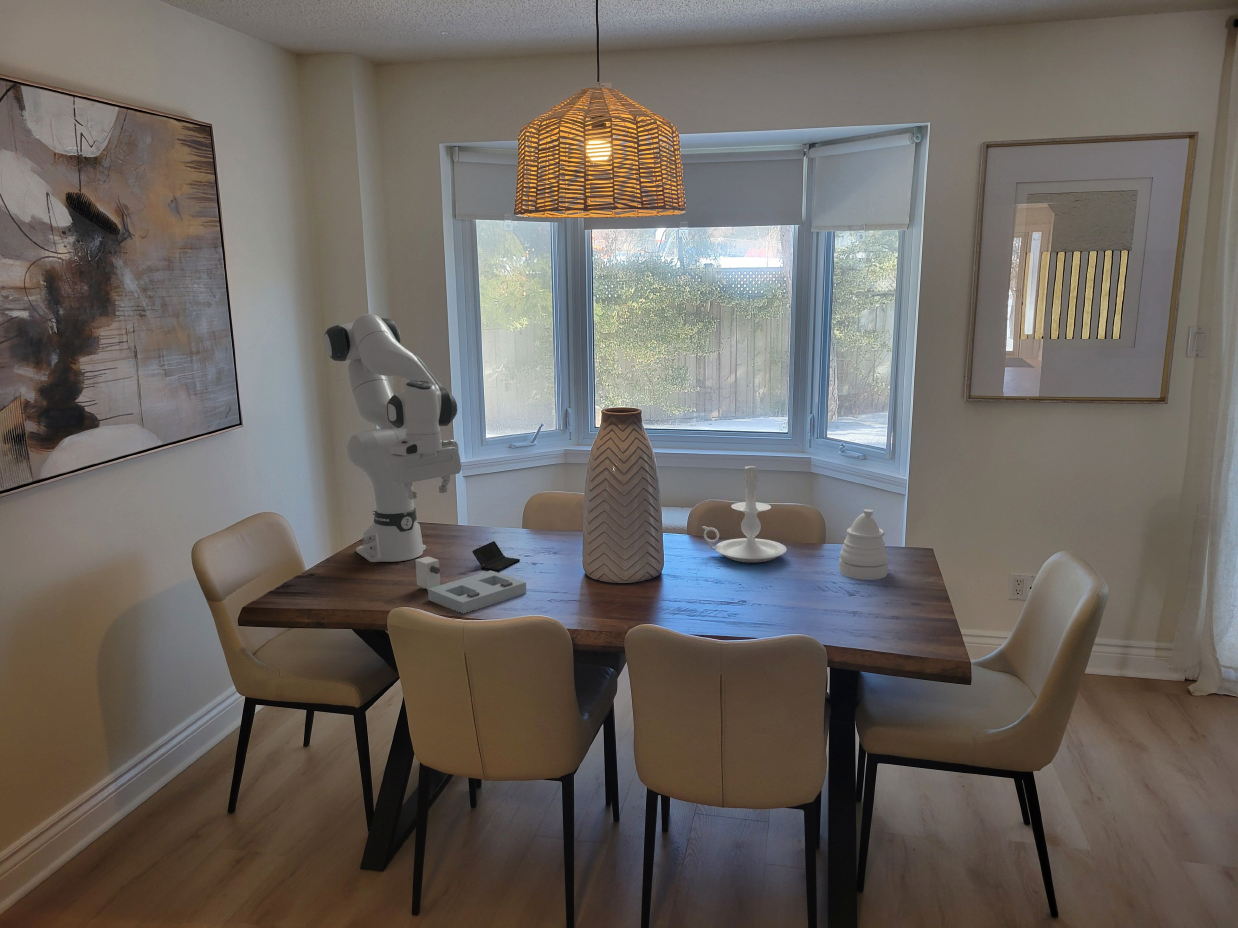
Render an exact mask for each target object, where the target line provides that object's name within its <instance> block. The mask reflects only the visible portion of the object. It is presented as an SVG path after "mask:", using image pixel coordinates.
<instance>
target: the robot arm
mask: <svg viewBox="0 0 1238 928" xmlns="http://www.w3.org/2000/svg"><path fill="white" fill-rule="evenodd" d="M323 344H324V349H325V351H326V353H327V355H328V357H329V358H330V359H331V360H333V361H335V362H345V361H349V362H348V366H347V367H348V368H347V369H348V378H349V383H350V387H351V390H352V393H353V394H352V395H353V397H354V401H355V403H356V406H357V409H358V412H359V414H360V417H361V418H362V419H364V420H365V421H366V422H368V423H370V424H374V425H376V426H377V427H379V428H376V429H375V428H374V429H367V430H363V431H361V432H358V433H355V434H352V436H351V437H350V438H349V440H348V442H347V446H346V451H347V453H346V454H347V456H348V458H349V460H350V462H351V463H352V464H353V465H354V466H355V467H357V468H359V469H360V470H362V471H363V472H364V473H365V475H367V476H368V478H369V480H370V482H371V484H372V487H373V491H374V493H373V494H374V499H375V508H376V510H373V511H372V513H373V514H372V515H373V523H371V525H370V526H369V527H368V528H367V529H366V530H365V531H364V533H363V536H362V539H361V540H362V543H363V545H359V546H357V547H356V549H355V552H356V553H357V554H359V555H361V557H363V558H365V560H367V561H368V562H370V563H378V562H379V563H380V562H390V563H391V562H392V563H393V562H394V563H395V562H402V561H408V560H413V559H416V558H418V557H421V556H422V555H423V553H424V551H425V550H426V549H427V546H426V544H423V538H422V537H423V536H422V532H421V531H422V529H421V526H420V523H418V522H417V519H418V518H417V514H418V513H417V508H416V507H415V501H414V500H415V499H417V497H418V496H417V495H418V494H417V491H414V485H413V483H415V482H421V481H426V480H430V479H431V480H432V479H436V478H441V479H442V481H441V484H440V485H439V486H438V492H439V493H440V494H446V493H448V485H449V483H450V481H451V476H453V475H459V474H460V473H461V471H462V463H461V458H460V453H459V452H460V451H459V444H458V442H457V441H456V440H453V439H448V440H442V432H441V431H442V430H441V428H440V427H447V426H449V425H450V424H451V422H453V420H455V418H456V416H457V414H458V405H457V401H456V399H455V397H454V395H453V394H452V393H451V392H450V391H449V390H448V389H446V387H444V386H443V385H442V383H440V381H439V380H438V379H437V377H436V376H435V375H434V374H433V372H432V370H430V368H429V367H428V366H427V365H426V364H425V362H424V361H423V359H421V357H419V356H418V355H417V354H415V353H414V352H411V351H410V350H409V349H407V348H406V347H405V346H403V345H402V344H401V332H400V329H399V327H398V325H397V322H395V320H393V319H391V318H381V317H380V316H378V315H376V314H375V313H365V314H362V315H360V316H358V317H357V318H356V319H355V320H354V321H351V322H348V323H344V324H341V325H340V324H336V325H332V326H330V327H329V328H327V329H326V330H325V332H324V338H323ZM388 377H393V378H400V379H405V380H408V382H406V383H405V384H404V386H403V390H402V391H400V392H398V393H395V394H394V392H393V388H392V387H391V384H390V383H391V382H390V380H389V379H388Z"/></svg>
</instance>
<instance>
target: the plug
mask: <svg viewBox="0 0 1238 928" xmlns="http://www.w3.org/2000/svg"><path fill="white" fill-rule="evenodd" d="M415 571H416V574H415V575H416V585H417V586H418V587H421V588H422V589H423V590H424V589H426V591H427V592H428V589H429V588H433V587H436V586H439V585H441V574H440V572H441V567H440V560H439V559H437V558H434V557H431V556H424V557H421V558H417V559H416V558H415Z"/></svg>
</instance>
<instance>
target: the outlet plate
mask: <svg viewBox="0 0 1238 928" xmlns="http://www.w3.org/2000/svg"><path fill="white" fill-rule="evenodd" d="M427 592H428V594H427V595H428V601H431V602H433V603H435V604H437V605H440V606H442V607H445V608H447V609H449V608H450V610H453V611H454V610H456V611H455V612H457V611H458V613H459V612H461V613H460V614H462V613H463V614H462V615H465V614H467V613H466V612H468V613H471V612H473V611H472V610H474V611H478V610H480V609H483V608H486V607H488V606H489V607H490V606H491V605H495V604H498V603H502V602H505V601H507V600H511V599H513V598H516V597H519V596H523V595H525V594H527V582H526V581H524V580H520V579H517V578H514V577H511V576H508V575H505V574H502V573H500V572H495V571H491V570H490V571H488V570H486V571H484V572H481V573H476V574H475V575H471V576H467V577H463V578H461V579H456V580H453V581H450V582H447V583H443V584H440V585H439V586H436V587H433V588H429V589H428V591H427ZM479 608H480V609H479ZM470 611H471V612H470ZM464 613H465V614H464Z"/></svg>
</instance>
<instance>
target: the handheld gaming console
mask: <svg viewBox="0 0 1238 928" xmlns="http://www.w3.org/2000/svg"><path fill="white" fill-rule="evenodd" d="M471 552H472V554H473V556H474V557H475V558H476V561H478V563H479V565H480V566H481V570H482V571H488V570H489V571H490V570H491V571H494V572H497V573H500V572H503V571H504V570H506V569H508V568H511V567H513V566H514V565H516V564H518V563H520V562H521V559H520V558H513V557H507V556H505V555H504V553H503V551H502V550H501V549H500V547H499V545H498V544H497V543H496V541H494V540H493V541H490V542H488V543H486V544H484V545H482V546H479V547H477V548H475V549H473V550H472V551H471Z"/></svg>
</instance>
